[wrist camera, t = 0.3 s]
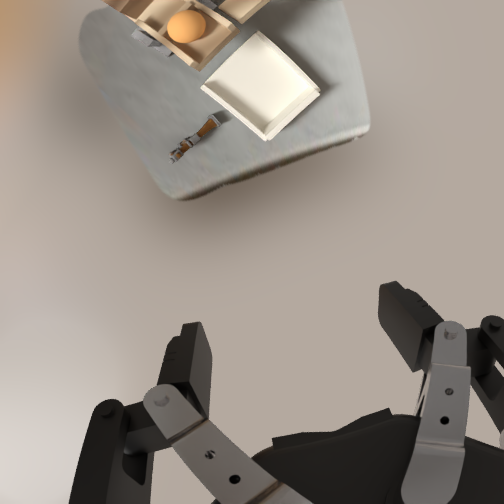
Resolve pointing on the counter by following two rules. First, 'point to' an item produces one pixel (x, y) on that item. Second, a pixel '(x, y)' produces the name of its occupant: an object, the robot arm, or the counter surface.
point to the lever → (169, 3)
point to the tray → (261, 86)
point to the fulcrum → (153, 42)
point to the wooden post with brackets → (193, 139)
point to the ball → (186, 26)
